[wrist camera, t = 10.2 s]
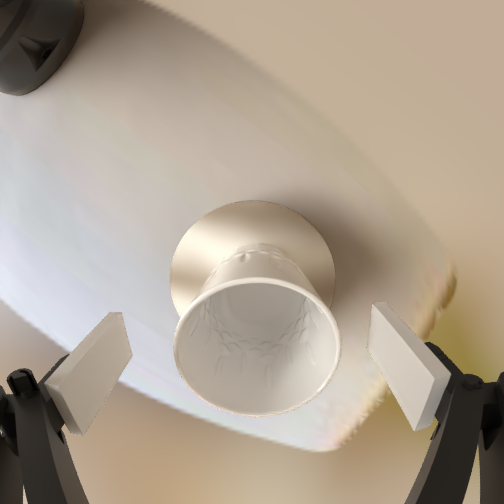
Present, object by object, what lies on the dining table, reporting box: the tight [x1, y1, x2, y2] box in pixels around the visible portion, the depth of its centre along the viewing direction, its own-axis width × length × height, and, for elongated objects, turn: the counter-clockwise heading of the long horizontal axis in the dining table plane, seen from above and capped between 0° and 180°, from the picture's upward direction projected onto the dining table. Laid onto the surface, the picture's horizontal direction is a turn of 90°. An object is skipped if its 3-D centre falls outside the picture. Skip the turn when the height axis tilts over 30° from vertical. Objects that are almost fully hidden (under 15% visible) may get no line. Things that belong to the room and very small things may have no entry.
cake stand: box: [170, 201, 336, 318], centre depth 25 cm, size 13×13×6 cm
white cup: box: [173, 243, 342, 417], centre depth 18 cm, size 8×8×10 cm
